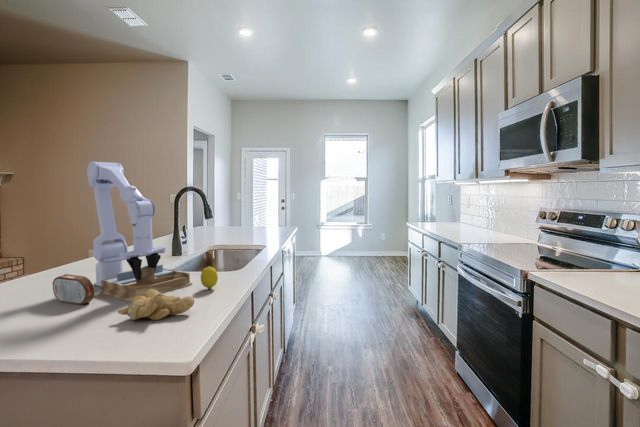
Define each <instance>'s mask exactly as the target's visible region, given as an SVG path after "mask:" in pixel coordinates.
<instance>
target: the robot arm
mask: <svg viewBox="0 0 640 427" xmlns="http://www.w3.org/2000/svg"><path fill="white" fill-rule="evenodd" d="M86 174H87V175H86V176H87V181H88V183H89V184H88V185H89V187H91V188H92V189H93V193H94V200H95V201H94V202H95V206H96V212H97V219H98V225H99V232H100V234H99V235H98V236H96V238H95V239H94V240H92V247H93V248H92V254H93V257H94V259H95V260H96V262H97V263H96V264H95V279H96V281H95V282H94V283H93V285H95V286H99V287H101V280H109V279H114V278H117V273H121V272H124V262H123V261H125V260H126V262H127V263H128V265H129V267H130V268H131V270H132V271H133V273H134V276H135V279H136V280H141V268H142V262H143V259H141V258H140V257H145V260H146V262H147V267H151V268H154V274H155V270H156V266H157V265H159V264H158V263H159V262H160V259H161V258H162V257H161V256H162V255H161V254H166V247H165V246H164V247H163V246H158V247H154V244H153V239H154V238H153V221H152V219H153V217H154V215H155V213H156V207H155V204H154V201H153V200H152V199H148V198H145V197H144V196H143V194H141V192H140V191H139V189H137V187H136V186H134V185H130V183H129V182H128V180H127V178H126V177H125V175H124V174H125V173H124V167H123V166H122V163H120V162H105V161H103V162H101V161H94V160H93V161H90V162H89V164H88V166H87V169H86ZM113 187H116V188H117V190H118V191H119V197H120V199H121V200H122V202H123V203H124V204H125V205H126V207H127V208H128V209H127V214H128V216H129V221H130V224H132V225H131V226H132V242H133V245H132V246H133V250H132V251H131V250H130V251H129V248H128V244H127V242H126V238H125V236H124V235H123V234H121V233H119V232H117V225H116V220H115V214H114V208H113V201H112V196H111V189H112V188H113Z"/></svg>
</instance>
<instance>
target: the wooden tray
mask: <svg viewBox="0 0 640 427" xmlns="http://www.w3.org/2000/svg"><path fill="white" fill-rule="evenodd" d="M163 270H168V271H173V273H172V274H168V275H164V276H159V277H155V283H153V284H148V285H144V286H142V285H139V284H136V282H133V283H129V284H125V285H123V284H119V283H115V282H111V281H107V280H101V286H100V287H101V290H99V293H100V294H103V295H107V296H110V297H113V298H117V299H120V300H124V301H127V302H131V303H132V299H133V298H135V297H137V296H143V295H144V293H145V292H147V291H148V290H150V289H154V290H157V291H158V292H159V293H162V294H164V293H167V292H171V291H174V290H178V289H182V288H185V287H188V286H191V285H193V282H191V280H190V278H191V277H190V272H185V271H180V270H175V269H169V268H164V267H163Z"/></svg>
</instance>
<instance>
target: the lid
mask: <svg viewBox="0 0 640 427" xmlns="http://www.w3.org/2000/svg"><path fill="white" fill-rule="evenodd" d="M163 268H164V266H163V264H157V266H156V270H155V278H156V277H159V276H164V275H168V274H172V273H173V271H168V270H163ZM107 281H111V282H115V283H119V284H123V285H127V284H131V283H135V282H136V279H135V276H134V273H133V271H132V269H131V270H127V271H123V272H121V273H117V278H114V279H109V280H107Z"/></svg>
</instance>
